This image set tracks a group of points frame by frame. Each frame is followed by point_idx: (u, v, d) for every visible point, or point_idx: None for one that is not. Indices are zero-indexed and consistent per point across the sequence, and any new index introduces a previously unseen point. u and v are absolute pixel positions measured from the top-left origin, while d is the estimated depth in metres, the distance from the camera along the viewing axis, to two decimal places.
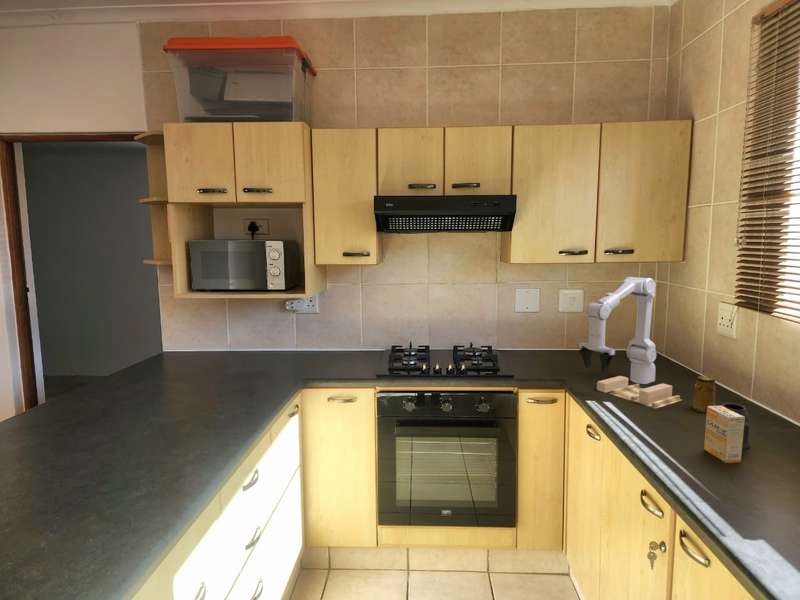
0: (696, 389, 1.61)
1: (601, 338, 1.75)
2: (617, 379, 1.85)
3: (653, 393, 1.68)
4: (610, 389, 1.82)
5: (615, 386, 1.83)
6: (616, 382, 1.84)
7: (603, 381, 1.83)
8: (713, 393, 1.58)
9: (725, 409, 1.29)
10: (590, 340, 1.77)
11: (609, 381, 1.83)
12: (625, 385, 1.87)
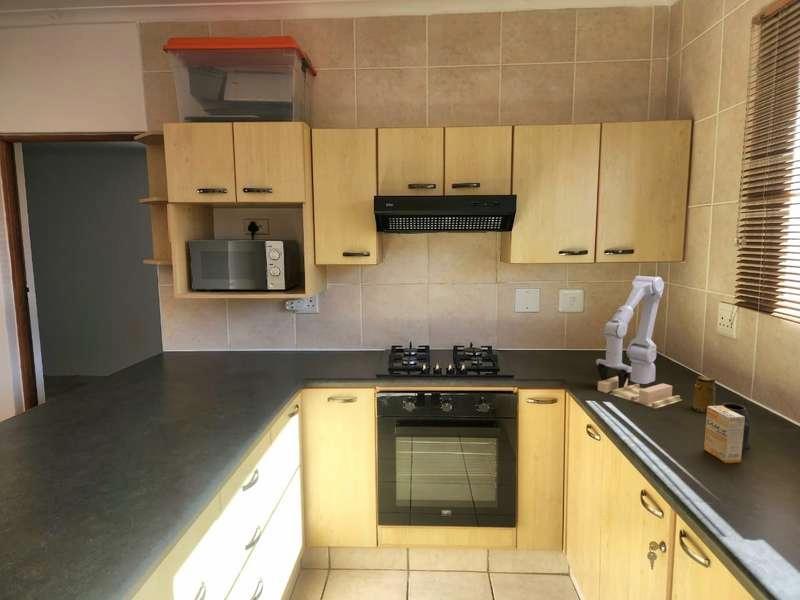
0: (696, 389, 1.61)
1: (618, 356, 1.81)
2: (617, 379, 1.86)
3: (653, 393, 1.68)
4: (611, 389, 1.82)
5: (615, 386, 1.83)
6: (616, 382, 1.84)
7: (604, 381, 1.83)
8: (713, 393, 1.58)
9: (725, 409, 1.29)
10: (607, 357, 1.83)
11: (609, 381, 1.83)
12: (625, 385, 1.87)
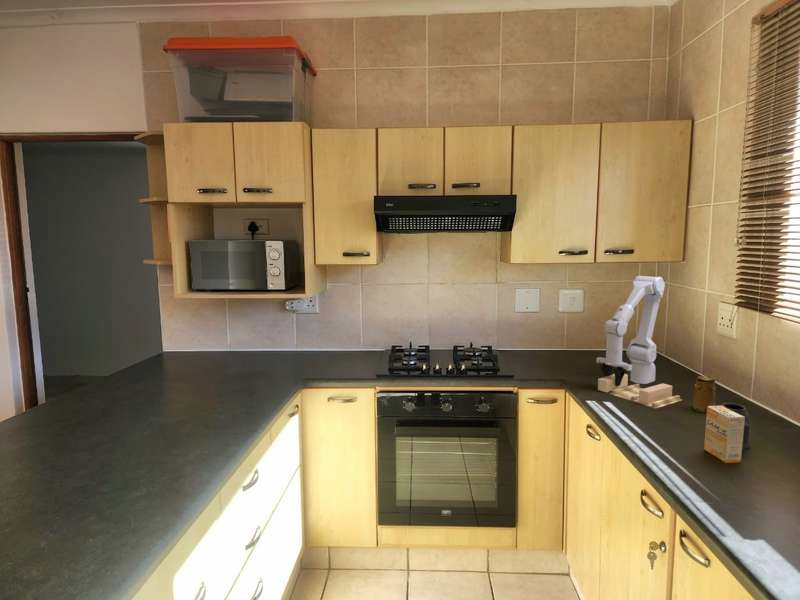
0: (696, 389, 1.61)
1: (618, 354, 1.81)
2: None
3: (653, 393, 1.68)
4: (611, 386, 1.82)
5: None
6: None
7: (604, 378, 1.83)
8: (713, 393, 1.58)
9: (725, 409, 1.29)
10: (607, 356, 1.83)
11: (609, 378, 1.83)
12: (625, 382, 1.87)
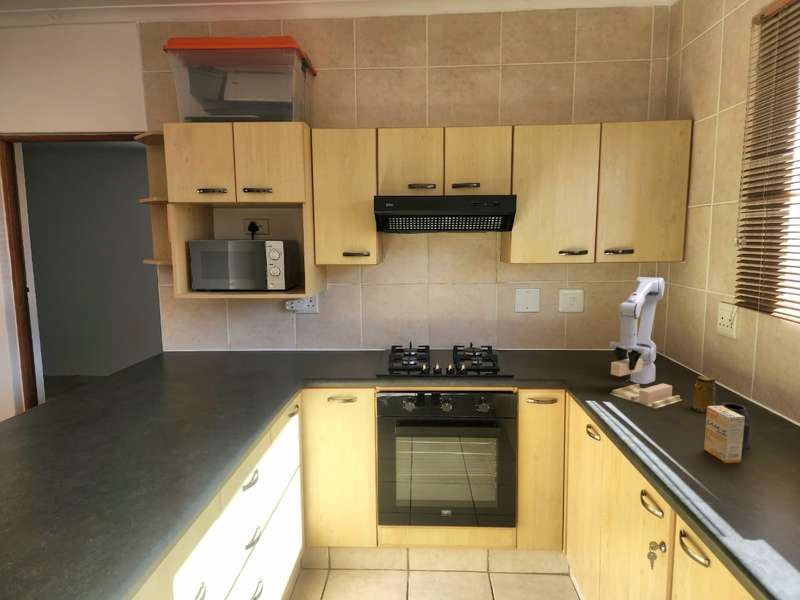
0: (696, 389, 1.61)
1: (633, 338, 1.76)
2: None
3: (653, 393, 1.68)
4: (624, 370, 1.77)
5: None
6: None
7: (617, 362, 1.78)
8: (713, 393, 1.58)
9: (725, 409, 1.29)
10: (622, 339, 1.78)
11: (623, 362, 1.78)
12: (639, 367, 1.81)
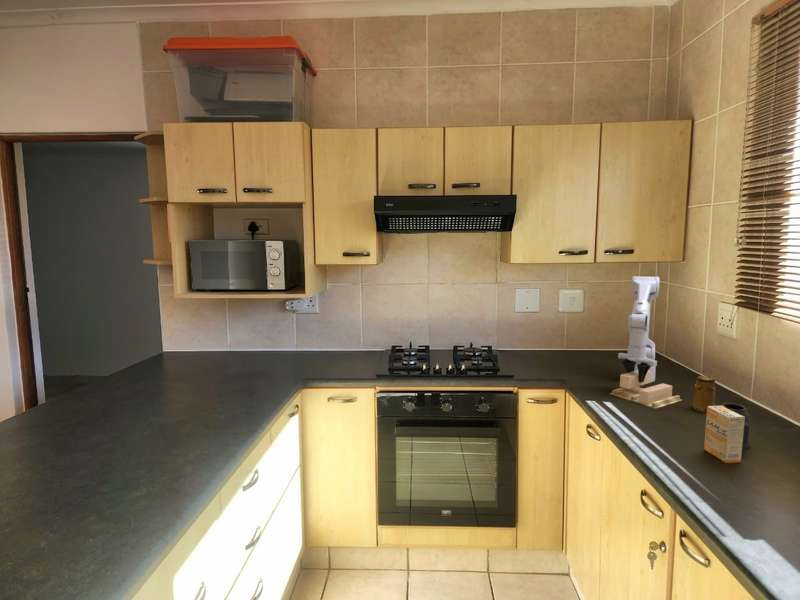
0: (696, 389, 1.61)
1: (642, 349, 1.74)
2: None
3: (653, 393, 1.68)
4: (634, 383, 1.75)
5: None
6: None
7: (626, 374, 1.76)
8: (713, 393, 1.58)
9: (725, 409, 1.29)
10: (631, 351, 1.76)
11: (632, 374, 1.76)
12: (648, 379, 1.79)
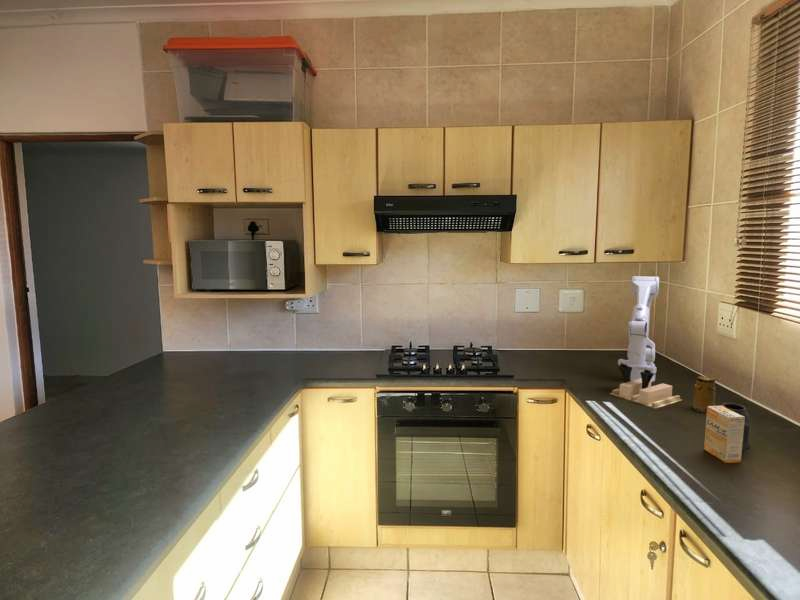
0: (696, 389, 1.61)
1: (642, 356, 1.74)
2: (640, 382, 1.78)
3: (653, 393, 1.68)
4: (633, 392, 1.75)
5: (638, 389, 1.76)
6: (639, 385, 1.77)
7: (626, 384, 1.76)
8: (713, 393, 1.58)
9: (725, 409, 1.29)
10: (630, 357, 1.76)
11: (632, 383, 1.76)
12: None
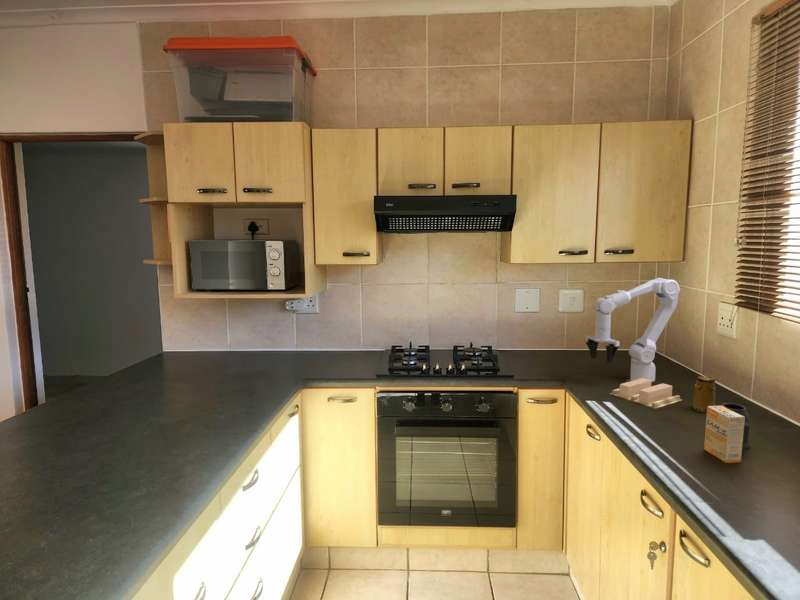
0: (696, 389, 1.61)
1: (606, 331, 1.88)
2: (640, 382, 1.78)
3: (653, 393, 1.68)
4: (633, 392, 1.75)
5: (638, 389, 1.76)
6: (639, 385, 1.77)
7: (626, 384, 1.76)
8: (713, 393, 1.58)
9: (725, 409, 1.29)
10: (596, 333, 1.90)
11: (632, 383, 1.76)
12: None
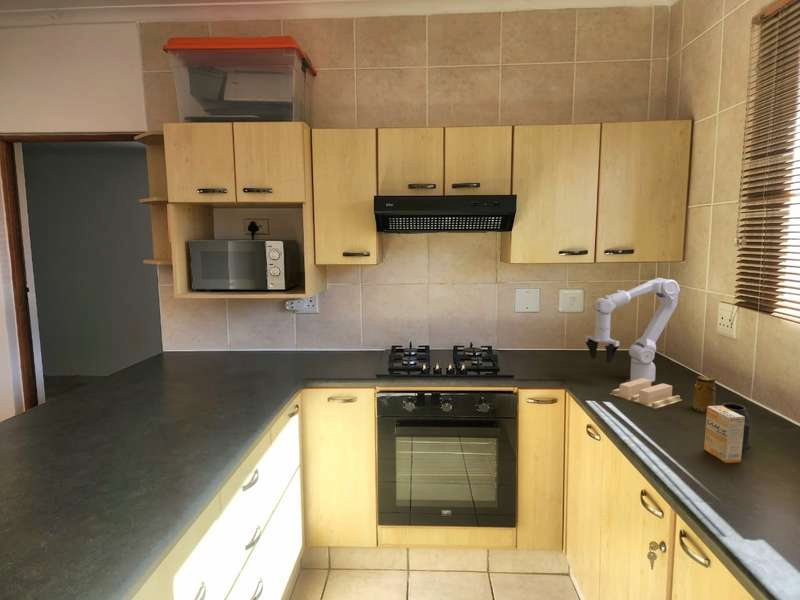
0: (696, 389, 1.61)
1: (606, 331, 1.89)
2: (640, 382, 1.78)
3: (653, 393, 1.68)
4: (633, 392, 1.75)
5: (638, 389, 1.76)
6: (639, 385, 1.77)
7: (626, 384, 1.76)
8: (713, 393, 1.58)
9: (725, 409, 1.29)
10: (596, 333, 1.91)
11: (632, 383, 1.76)
12: None
